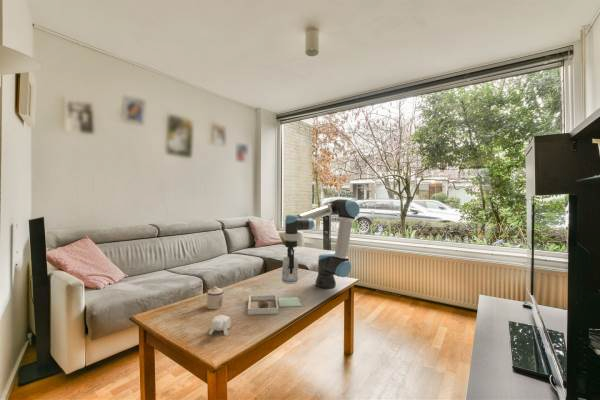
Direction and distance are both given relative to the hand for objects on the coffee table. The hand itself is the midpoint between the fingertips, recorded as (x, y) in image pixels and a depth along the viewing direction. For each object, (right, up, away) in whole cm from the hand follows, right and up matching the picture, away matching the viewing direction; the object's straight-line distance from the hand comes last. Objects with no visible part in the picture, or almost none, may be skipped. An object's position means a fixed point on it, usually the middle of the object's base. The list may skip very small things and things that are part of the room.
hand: (289, 276), depth 169 cm
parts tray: (-16, -16, -7) cm, 23 cm away
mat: (0, -16, 0) cm, 16 cm away
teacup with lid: (-44, -15, -7) cm, 47 cm away
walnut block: (-15, -16, -13) cm, 25 cm away
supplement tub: (0, -4, 0) cm, 4 cm away
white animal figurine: (-32, -16, -38) cm, 52 cm away
